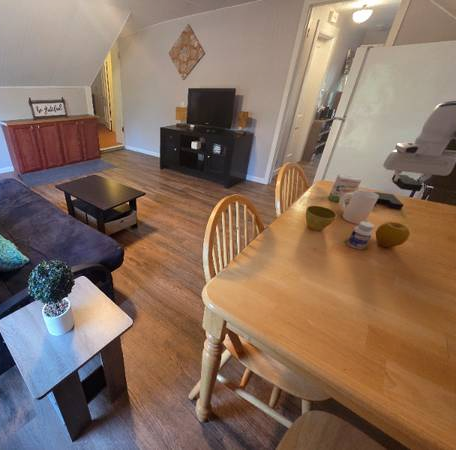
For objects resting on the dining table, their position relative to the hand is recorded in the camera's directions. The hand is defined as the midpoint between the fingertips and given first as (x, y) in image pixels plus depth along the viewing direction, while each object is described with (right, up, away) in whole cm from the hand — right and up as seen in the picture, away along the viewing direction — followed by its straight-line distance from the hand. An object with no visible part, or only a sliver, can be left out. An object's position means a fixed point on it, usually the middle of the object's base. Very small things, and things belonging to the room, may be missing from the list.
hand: (407, 182), depth 100 cm
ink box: (-13, -5, +19) cm, 24 cm away
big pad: (+4, -6, +18) cm, 20 cm away
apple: (-20, -25, -12) cm, 34 cm away
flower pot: (-39, -19, -2) cm, 44 cm away
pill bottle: (-31, -25, -12) cm, 42 cm away
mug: (-20, -14, +5) cm, 25 cm away
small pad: (+1, -1, +2) cm, 2 cm away
